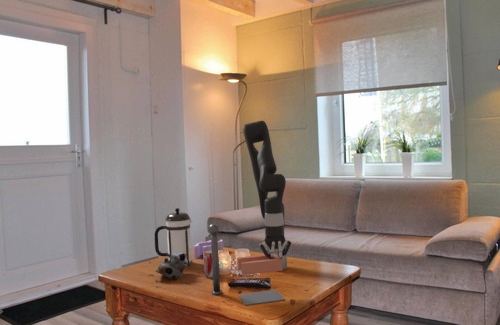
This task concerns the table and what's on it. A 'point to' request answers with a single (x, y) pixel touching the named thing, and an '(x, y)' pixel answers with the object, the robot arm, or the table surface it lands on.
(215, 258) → the stand
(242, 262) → the c link
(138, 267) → the table surface
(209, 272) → the soda can
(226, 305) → the table surface
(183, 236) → the coffee press
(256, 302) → the felt mat
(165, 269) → the dark grey lumpy piece
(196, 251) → the clip
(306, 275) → the table surface
